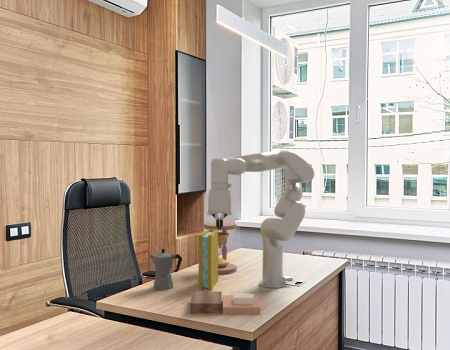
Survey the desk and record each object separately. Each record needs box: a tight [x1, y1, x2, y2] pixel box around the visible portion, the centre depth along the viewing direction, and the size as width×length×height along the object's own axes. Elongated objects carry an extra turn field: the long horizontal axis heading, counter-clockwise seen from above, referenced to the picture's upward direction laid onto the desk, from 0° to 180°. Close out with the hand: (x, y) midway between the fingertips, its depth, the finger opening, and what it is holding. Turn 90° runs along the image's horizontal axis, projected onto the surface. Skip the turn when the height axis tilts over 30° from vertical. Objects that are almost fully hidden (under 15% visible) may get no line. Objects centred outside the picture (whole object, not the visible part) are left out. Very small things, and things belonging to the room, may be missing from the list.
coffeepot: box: [148, 248, 183, 291], centre depth 215 cm, size 15×9×18 cm, turn 85°
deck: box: [189, 290, 223, 315], centre depth 187 cm, size 12×16×4 cm
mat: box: [222, 294, 261, 315], centre depth 187 cm, size 14×16×2 cm
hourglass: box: [203, 221, 238, 275], centre depth 248 cm, size 18×18×25 cm
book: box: [197, 229, 219, 291], centre depth 220 cm, size 17×7×25 cm, turn 168°
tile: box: [233, 292, 255, 304], centre depth 186 cm, size 8×6×2 cm
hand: (219, 228), depth 204 cm, fingers closed
